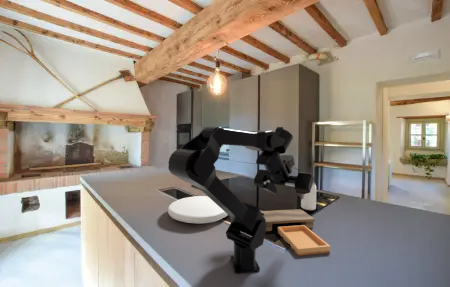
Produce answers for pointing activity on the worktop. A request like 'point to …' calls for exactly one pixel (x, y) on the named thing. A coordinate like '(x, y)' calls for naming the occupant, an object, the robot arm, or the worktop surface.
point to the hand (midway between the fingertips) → (289, 195)
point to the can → (309, 199)
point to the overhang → (287, 218)
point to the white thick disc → (196, 210)
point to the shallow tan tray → (303, 240)
